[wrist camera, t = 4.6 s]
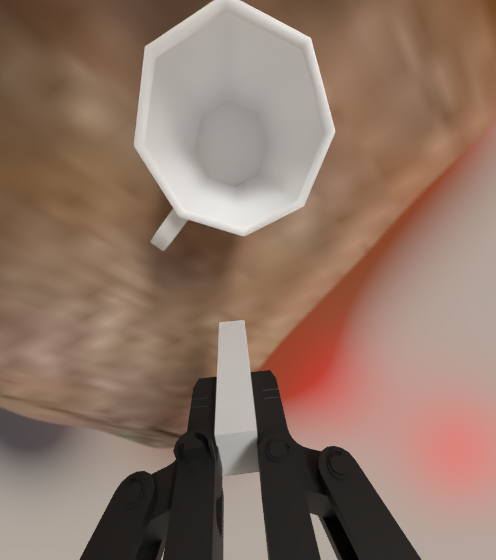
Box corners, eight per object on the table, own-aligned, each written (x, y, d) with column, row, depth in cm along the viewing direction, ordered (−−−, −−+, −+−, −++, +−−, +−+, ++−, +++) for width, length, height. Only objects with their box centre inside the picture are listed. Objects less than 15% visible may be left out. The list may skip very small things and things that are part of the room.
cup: (306, 142, 16) (376, 128, 8) (213, 253, 18) (205, 313, 11) (222, 44, 13) (218, -95, 6) (129, 190, 16) (52, 217, 9)
